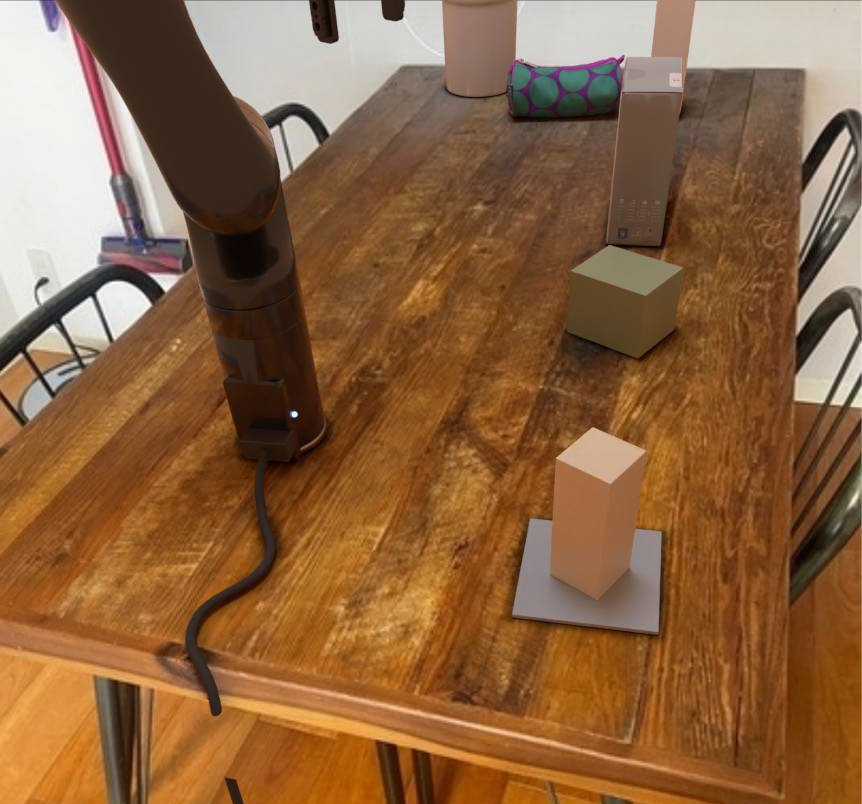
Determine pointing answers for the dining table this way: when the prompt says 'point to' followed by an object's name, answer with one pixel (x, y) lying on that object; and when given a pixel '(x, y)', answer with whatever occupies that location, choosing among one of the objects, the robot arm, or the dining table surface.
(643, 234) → the hard drive box
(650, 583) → the mat
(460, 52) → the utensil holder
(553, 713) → the dining table surface
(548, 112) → the pencil case
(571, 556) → the carton
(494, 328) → the dining table surface
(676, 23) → the pink rectangular pillar
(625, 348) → the block
